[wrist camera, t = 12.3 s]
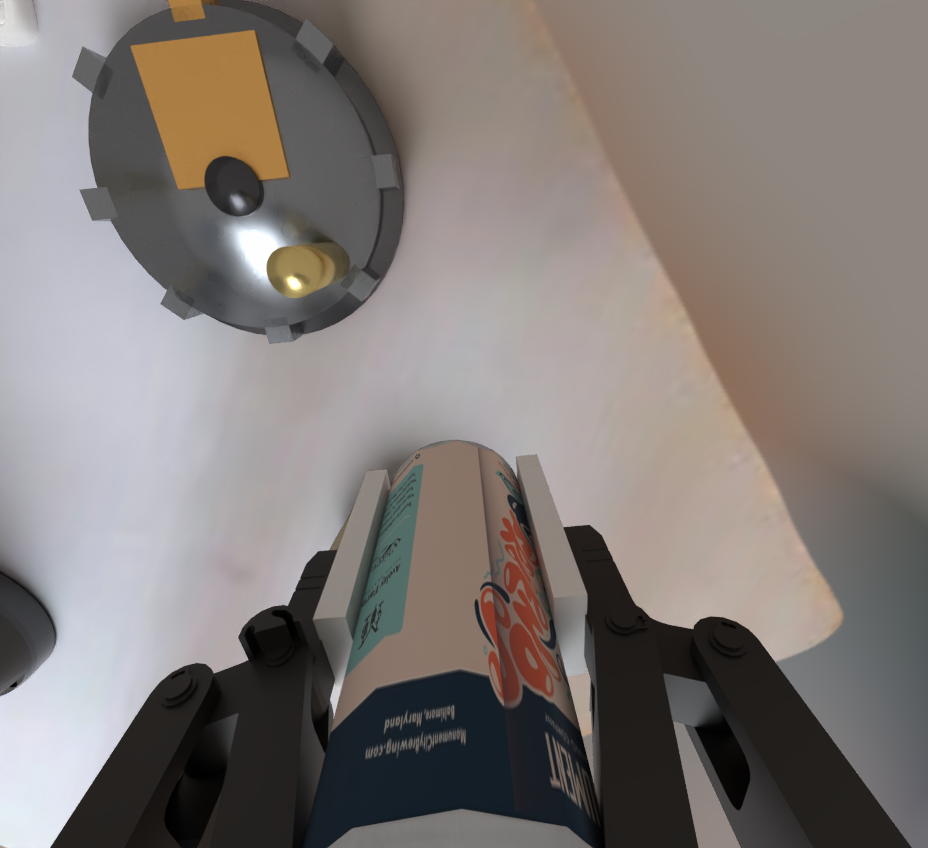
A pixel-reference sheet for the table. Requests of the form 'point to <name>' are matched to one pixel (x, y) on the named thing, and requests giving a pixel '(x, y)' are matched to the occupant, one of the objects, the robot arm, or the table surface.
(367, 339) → the table surface
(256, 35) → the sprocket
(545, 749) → the beer can
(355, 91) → the hub plate
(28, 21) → the calculator
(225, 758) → the robot arm
